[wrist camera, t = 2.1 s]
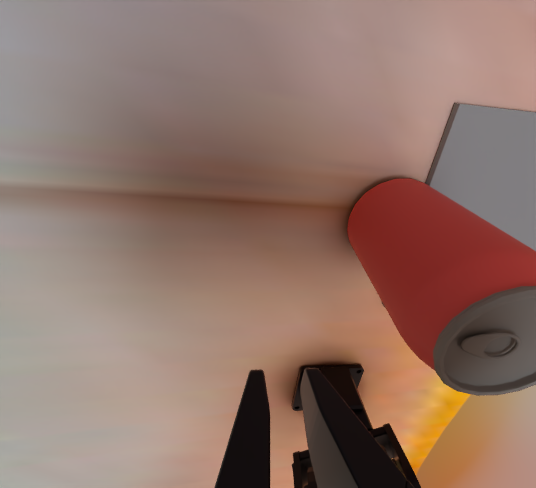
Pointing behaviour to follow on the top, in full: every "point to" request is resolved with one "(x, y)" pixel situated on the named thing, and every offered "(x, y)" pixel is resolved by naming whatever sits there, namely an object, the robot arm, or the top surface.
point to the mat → (490, 167)
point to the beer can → (450, 285)
